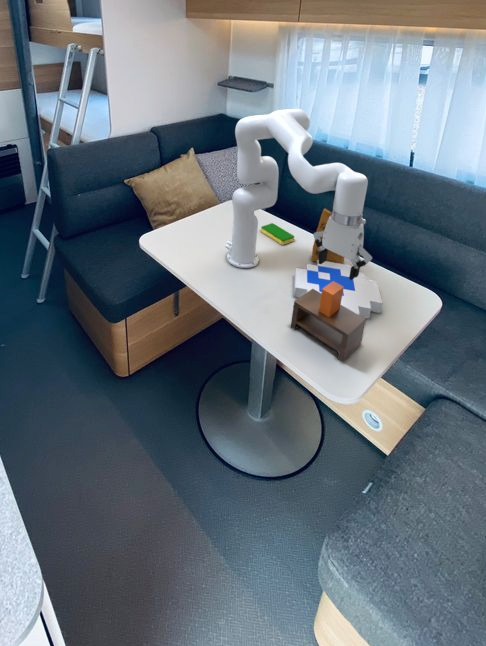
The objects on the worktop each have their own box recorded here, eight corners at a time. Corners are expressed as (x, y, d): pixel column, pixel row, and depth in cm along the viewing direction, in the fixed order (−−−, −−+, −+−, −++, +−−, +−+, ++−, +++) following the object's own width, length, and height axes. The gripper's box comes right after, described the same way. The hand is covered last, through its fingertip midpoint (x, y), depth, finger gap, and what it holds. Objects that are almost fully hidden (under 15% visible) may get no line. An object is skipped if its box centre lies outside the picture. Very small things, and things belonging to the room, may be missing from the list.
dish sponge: (282, 245, 175) (283, 240, 174) (260, 231, 186) (260, 226, 185) (294, 240, 178) (294, 236, 177) (271, 227, 189) (272, 222, 188)
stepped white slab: (294, 302, 135) (296, 256, 160) (293, 311, 136) (295, 265, 161) (386, 319, 128) (373, 269, 153) (384, 329, 129) (371, 277, 154)
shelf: (290, 326, 129) (294, 301, 126) (308, 313, 135) (312, 288, 132) (342, 362, 117) (348, 335, 113) (360, 345, 123) (366, 319, 119)
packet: (318, 311, 122) (322, 288, 119) (329, 302, 126) (333, 281, 123) (328, 317, 119) (333, 295, 117) (339, 308, 123) (344, 286, 120)
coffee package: (319, 250, 172) (326, 203, 164) (347, 263, 163) (356, 214, 156) (306, 259, 165) (314, 211, 157) (335, 273, 157) (345, 222, 149)
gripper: (384, 224, 107) (372, 279, 113) (325, 202, 120) (318, 252, 126) (370, 233, 103) (359, 289, 109) (310, 209, 115) (303, 261, 121)
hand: (337, 269), depth 117 cm, fingers open, 9 cm apart
